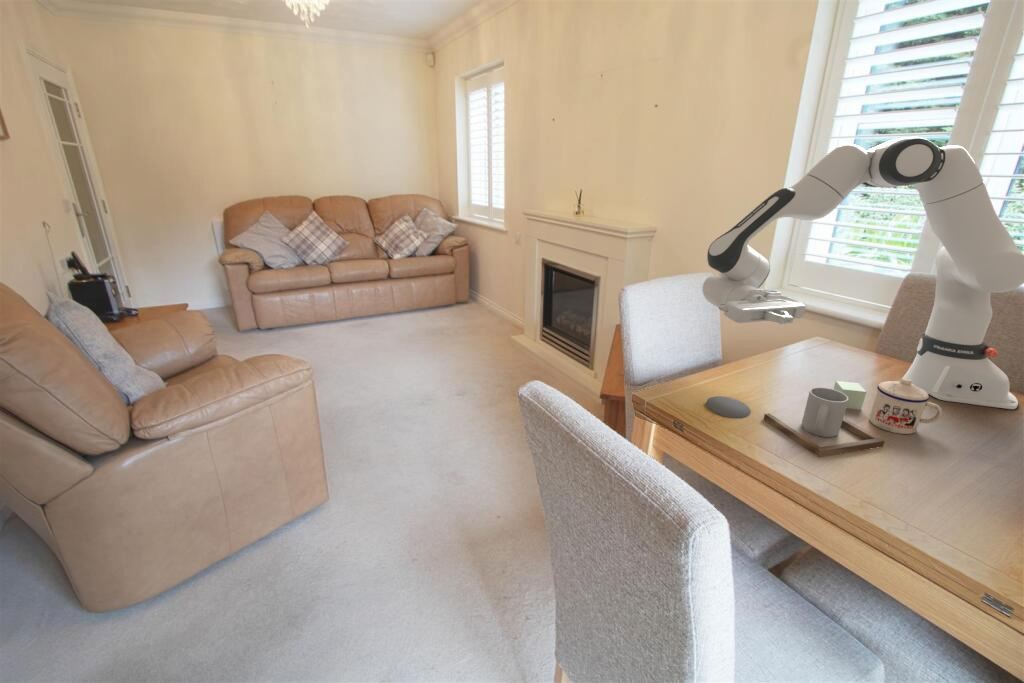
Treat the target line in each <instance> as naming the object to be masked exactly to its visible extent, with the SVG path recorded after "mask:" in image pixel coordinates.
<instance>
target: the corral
mask: <svg viewBox="0 0 1024 683" xmlns="http://www.w3.org/2000/svg"><path fill="white" fill-rule="evenodd" d="M763 420H764V421H765V422H766V423H768V424H770V425H771V426H773V427H774V428H775V429H777V430H779V431H780V432H781V433H783V434H784V435H786V436H787V437H789V438H790V439H791V440H793V441H794V442H796V443H797V444H798V445H800V446H801V447H803V448H805V449H806V450H807V451H809V452H811V453H812V454H813V455H815V456H816V457H818V458H823V457H828V456H834V455H835V454H836V455H841V454H840V453H842V454H846V453H845V452H848V453H853V451H854V452H860V451H866V450H865V449H867V450H871V449H870V448H873V449H878V448H877V447H879V448H883V447H884V445H885V441H886V440H884V439H882V438H881V437H879V436H877V435H875V434H874V433H871V432H870V431H868V430H866V429H864V428H863V427H861V426H860V425H858V424H855V423H854V422H852V421H850V420H848V419H847V418H844V417H843V420H842V424H841V427H842V428H844V429H845V428H846V430H847V429H848V430H847V431H849V432H850V433H852V432H853V433H852V434H854V433H855V435H856V436H858V437H859V436H860V438H861V437H862V438H861V439H862V440H857V441H852V442H845V443H837V444H830V445H825V446H820V445H818V444H817V443H815V442H813V441H812V440H811V439H809V438H807V437H806V436H804V435H803V434H801V433H800V432H798V431H797V430H795V429H794V428H792V427H791V426H789V425H788V424H786V423H784V422H783V421H782V420H780V419H779V418H777V417H776V416H774V415H772V414H771V413H764V416H763ZM863 438H864V439H866V440H864V439H863ZM859 450H860V451H859Z"/></svg>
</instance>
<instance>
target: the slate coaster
mask: <svg viewBox="0 0 1024 683" xmlns="http://www.w3.org/2000/svg"><path fill="white" fill-rule="evenodd" d="M706 407H707V408H708V409H709V410H710V411H711V412H713V413H714V414H716V415H719V416H721V417H724V418H730V419H742V418H747V417H749V416H750V414H751V412H752V411H751V408H750V407H749V406H748V405H747V404H746V403H744V402H742V401H741V400H738V399H736V398H732V397H728V396H724V395H723V396H719V395H718V396H711V397H709V398H708V399H707V400H706Z"/></svg>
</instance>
